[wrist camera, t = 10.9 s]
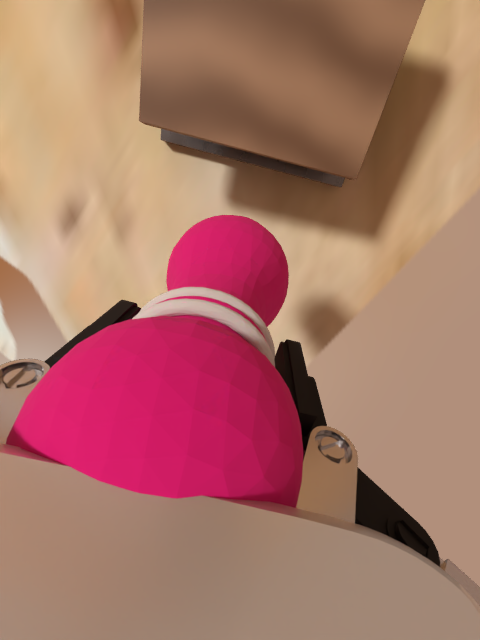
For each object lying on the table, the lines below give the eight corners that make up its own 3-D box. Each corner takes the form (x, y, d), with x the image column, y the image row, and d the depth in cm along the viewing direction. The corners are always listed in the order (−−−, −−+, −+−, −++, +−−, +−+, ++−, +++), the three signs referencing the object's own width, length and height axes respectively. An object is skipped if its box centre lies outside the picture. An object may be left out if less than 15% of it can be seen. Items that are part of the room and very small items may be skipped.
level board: (350, 179, 23) (360, 179, 21) (145, 124, 22) (134, 118, 20) (450, -88, 17) (481, -129, 14) (161, -190, 15) (146, -252, 13)
